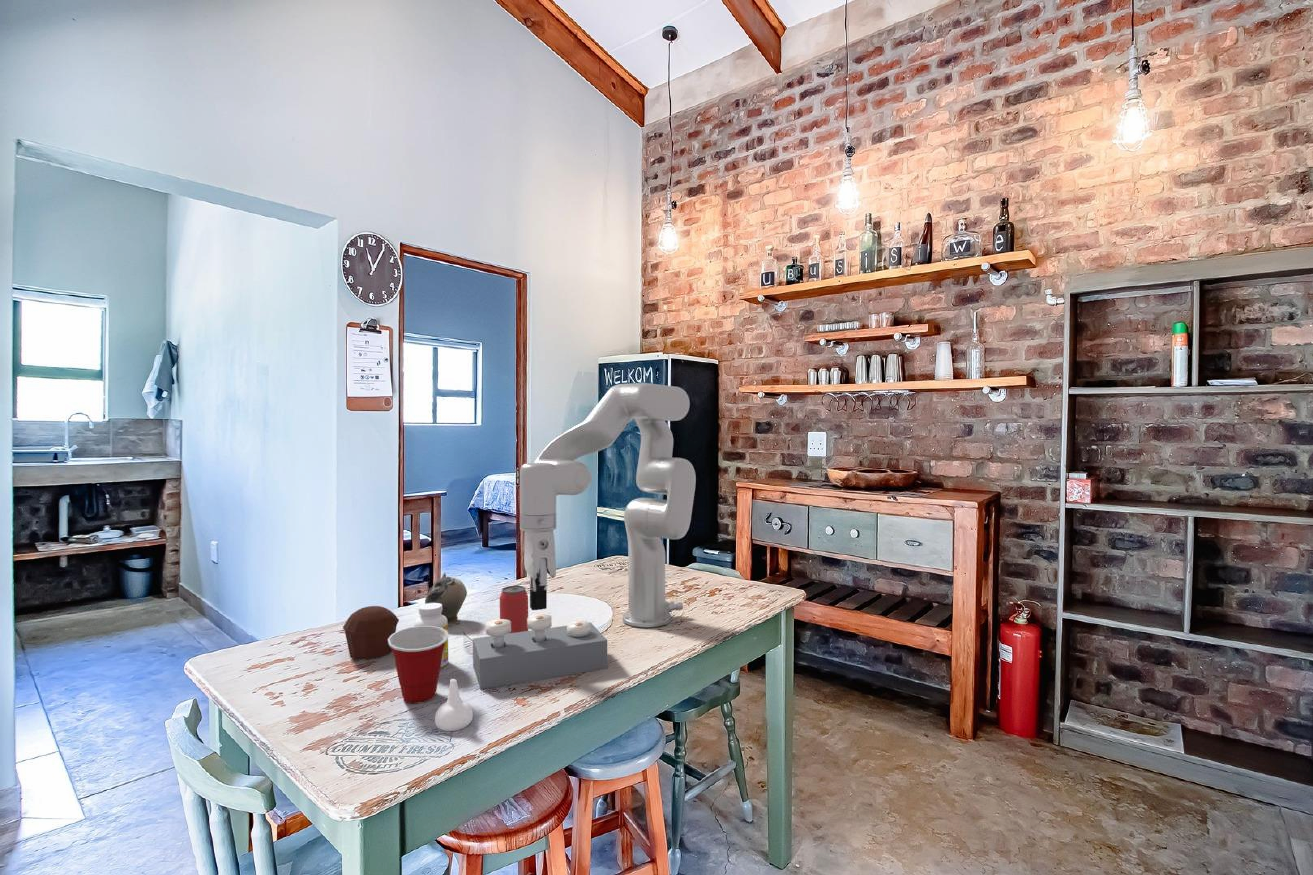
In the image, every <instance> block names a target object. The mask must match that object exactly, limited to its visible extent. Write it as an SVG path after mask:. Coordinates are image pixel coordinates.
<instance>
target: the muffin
mask: <svg viewBox="0 0 1313 875" xmlns="http://www.w3.org/2000/svg"><path fill="white" fill-rule="evenodd" d="M399 622H400V619H399V618H398V616H397V615H396V614H395V613H394V612H393V611H391V610H390V609H389V608H387V607H384V606H380V605H371V606H365V607H361V608H359V609H357V610H356V611H354V612H353V613H351V614H350V616H349V617H348V619H347V620H346V621H345V623H344V625H343V626H342V629H343V630H344V633H345V639H346V643H347V649H348V653H349V654H348V655H349V657H351V658H353V659H354V660H365V661H369V660H372V659H380V658H382V657H384V656H387V655H390V654H391V653H392V649H391V647H390V646H389V643H388V638H389V637H390V636H391V635H392V634H394V633H395V632H397V625H398V624H399Z"/></svg>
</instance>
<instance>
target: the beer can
mask: <svg viewBox="0 0 1313 875" xmlns="http://www.w3.org/2000/svg"><path fill="white" fill-rule="evenodd" d="M526 589H527V588H526V587H525V586H522V585H510V586H505V587H503V588H502V589H501V593H500V595H499V596H500V597H499V619H506V620H510V621H511V632H510V633H516V632H524V631H529V629H528V627H527V618H528V617H529V596H528V595H529V594H528V592H527V590H526ZM508 634H509V633H508Z"/></svg>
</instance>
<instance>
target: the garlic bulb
mask: <svg viewBox="0 0 1313 875" xmlns="http://www.w3.org/2000/svg"><path fill="white" fill-rule="evenodd" d="M438 707H439V708H438V709H437V710H436V713H435V715H434V716H435V717H434V723H435V726H436V728H438V729H439V730H440V731H444V732H457V731H460V730H462V729H464V728H466V727H467V726H469V725H470V724H471V722H472V721H473V716H474V715H473V714H474V711H473V708H472V706H471V704H470V703H469V702H467V701H466V700H464V699H461V696H460V692H459V686H458V683H457V679H455V678H451V679H449V690H448V697H447V701H445V702H444V703H442V704H441V705H440V706H438Z"/></svg>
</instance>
